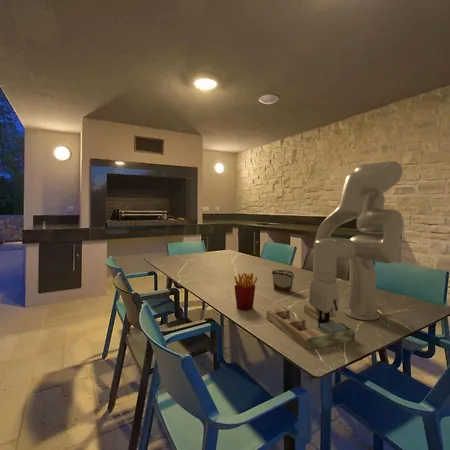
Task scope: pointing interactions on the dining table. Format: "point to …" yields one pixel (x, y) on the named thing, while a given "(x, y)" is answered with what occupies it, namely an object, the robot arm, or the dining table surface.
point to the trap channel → (308, 337)
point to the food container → (283, 280)
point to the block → (331, 327)
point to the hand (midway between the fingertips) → (323, 328)
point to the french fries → (245, 291)
